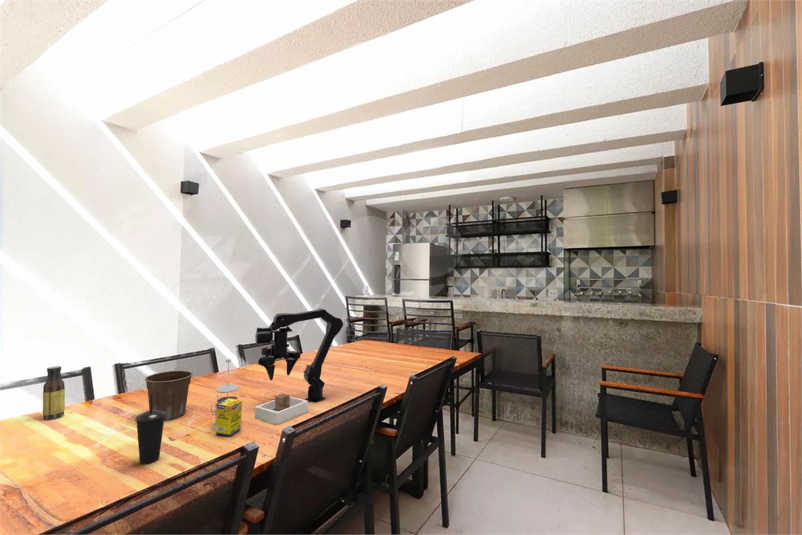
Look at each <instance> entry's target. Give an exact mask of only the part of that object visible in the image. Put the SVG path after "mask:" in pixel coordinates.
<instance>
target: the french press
mask: <svg viewBox="0 0 802 535" xmlns="http://www.w3.org/2000/svg"><path fill="white" fill-rule="evenodd" d="M231 362H232V359H231V358H227V359H225V363H227V374H229V370H230V369H229V368H230V365H229V364H230V363H231ZM239 389H240V386H239V385H237V384H233V383H226V384H222V385H220V386H218V387H217V388H216V389H215V392H217V393H219V394H226V393H227V396H224V397H223V396H222V395H216V397H213V399H212V402H211V404H210V411H211V414H212V415H213V416H215V421H214V422H215V423H214V424H213V426H212V429H213V430H214V431H216V425H217V404H219V403H221V402H223V401H225V400H227V399H228V398H230V399H236V400H239V397H238V396H233V395H232V396H229V393H232V392H236V391H238V390H239ZM216 398H217V399H216ZM215 399H216V401H215ZM214 401H215V403H214ZM213 403H214V407H215V408H214V412H213Z"/></svg>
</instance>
